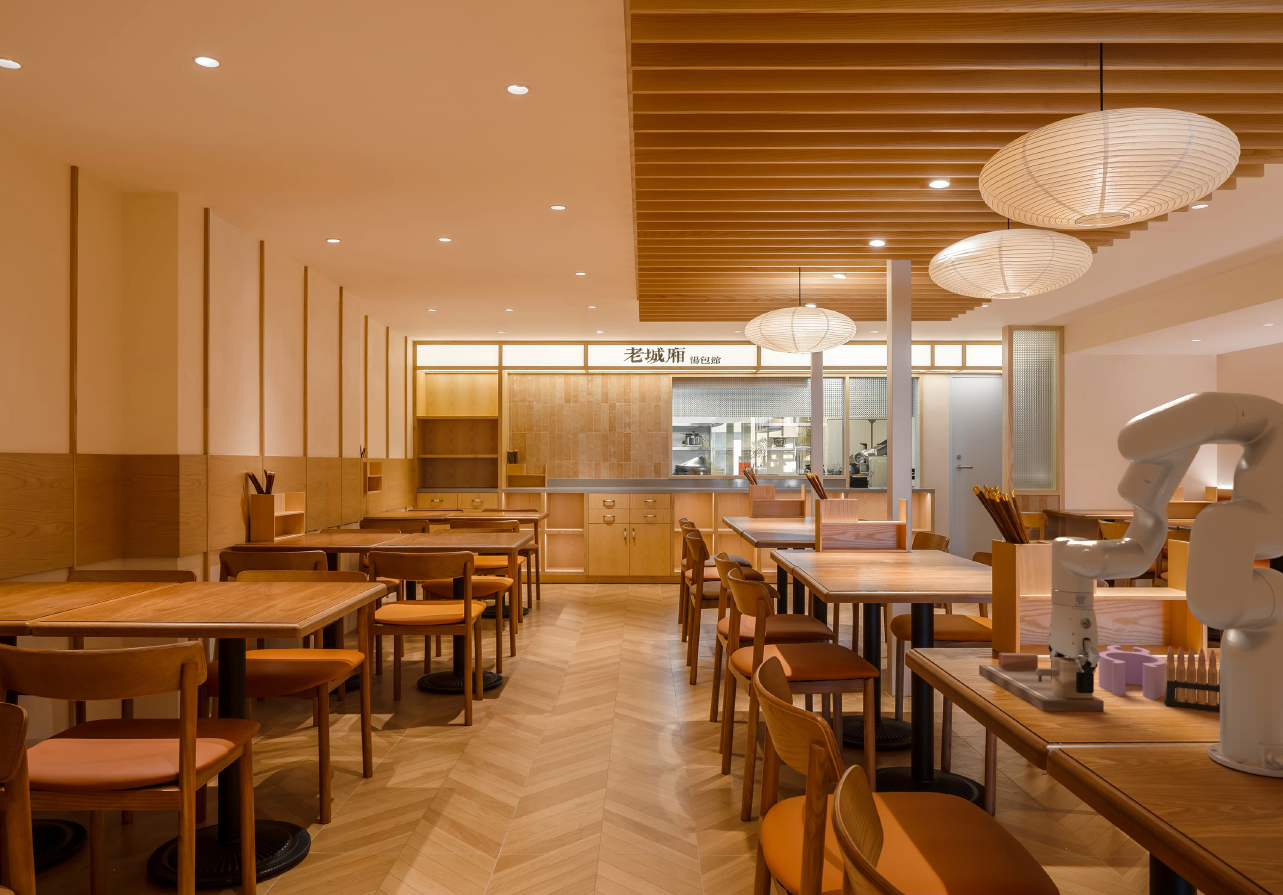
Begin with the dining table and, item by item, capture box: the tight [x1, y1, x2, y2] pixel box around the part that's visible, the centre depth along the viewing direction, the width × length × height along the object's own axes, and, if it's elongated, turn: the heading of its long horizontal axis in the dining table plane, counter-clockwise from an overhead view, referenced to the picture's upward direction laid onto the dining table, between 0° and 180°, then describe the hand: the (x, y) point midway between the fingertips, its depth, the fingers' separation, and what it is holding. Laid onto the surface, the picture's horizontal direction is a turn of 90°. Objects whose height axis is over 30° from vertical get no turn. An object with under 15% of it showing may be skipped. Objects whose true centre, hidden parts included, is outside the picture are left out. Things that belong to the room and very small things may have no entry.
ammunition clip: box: [1164, 645, 1220, 714], centre depth 162 cm, size 11×2×12 cm, turn 65°
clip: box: [1098, 644, 1167, 701], centre depth 179 cm, size 20×12×7 cm, turn 154°
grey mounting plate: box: [978, 652, 1105, 712], centre depth 174 cm, size 28×12×5 cm, turn 2°
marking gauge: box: [1036, 657, 1094, 698], centre depth 164 cm, size 4×10×7 cm, turn 92°
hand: (1071, 685), depth 164 cm, fingers open, 8 cm apart
